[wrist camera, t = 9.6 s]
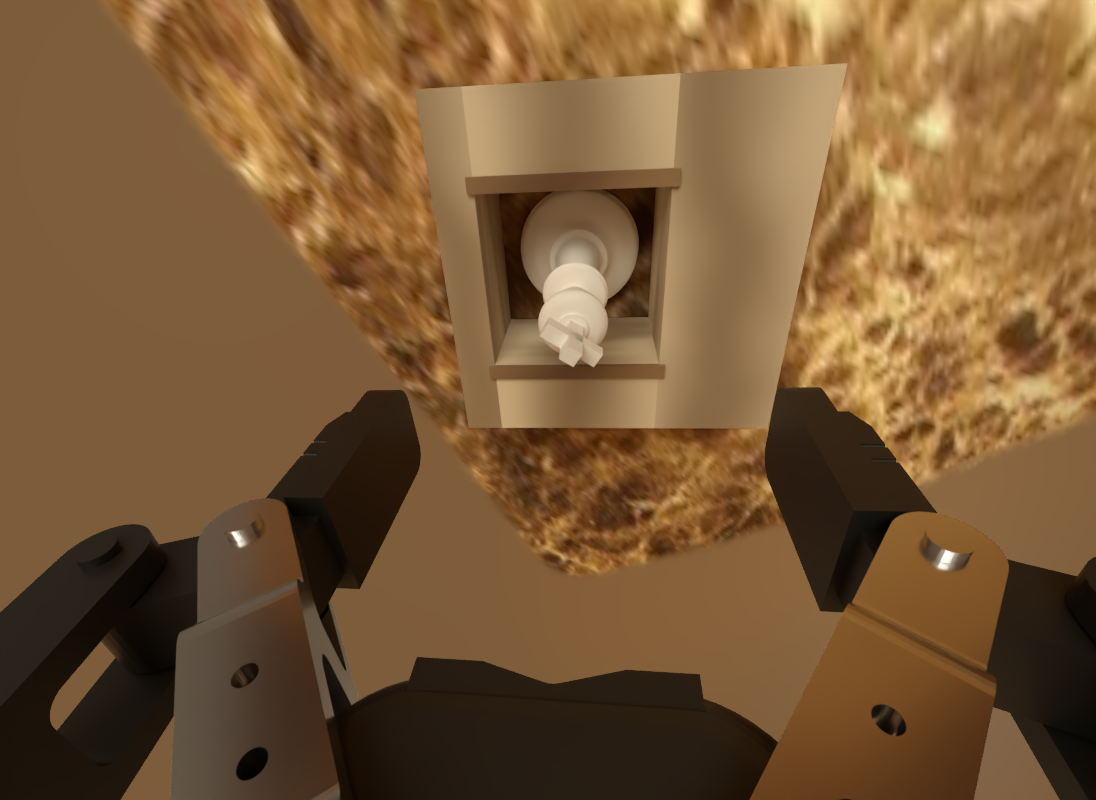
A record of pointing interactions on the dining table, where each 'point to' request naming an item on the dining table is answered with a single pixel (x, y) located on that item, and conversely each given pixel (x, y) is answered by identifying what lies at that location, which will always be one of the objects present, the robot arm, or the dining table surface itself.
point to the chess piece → (578, 266)
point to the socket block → (678, 237)
